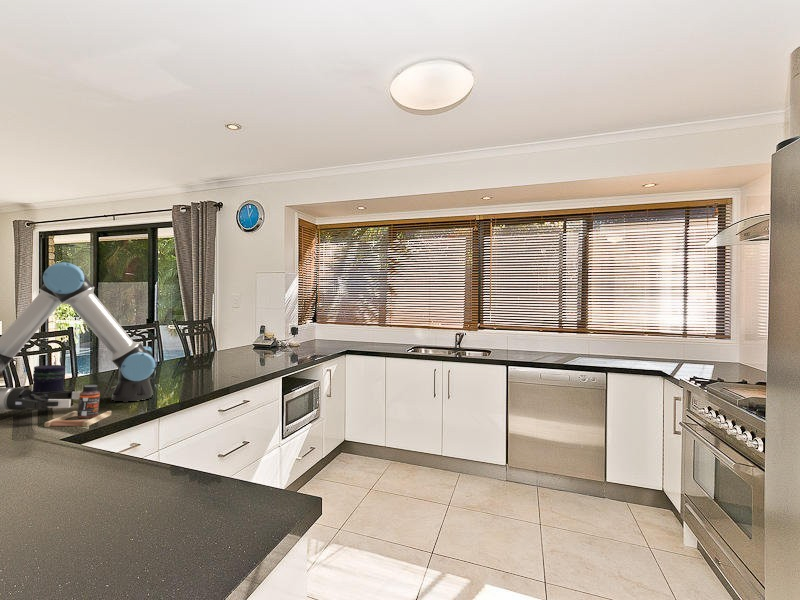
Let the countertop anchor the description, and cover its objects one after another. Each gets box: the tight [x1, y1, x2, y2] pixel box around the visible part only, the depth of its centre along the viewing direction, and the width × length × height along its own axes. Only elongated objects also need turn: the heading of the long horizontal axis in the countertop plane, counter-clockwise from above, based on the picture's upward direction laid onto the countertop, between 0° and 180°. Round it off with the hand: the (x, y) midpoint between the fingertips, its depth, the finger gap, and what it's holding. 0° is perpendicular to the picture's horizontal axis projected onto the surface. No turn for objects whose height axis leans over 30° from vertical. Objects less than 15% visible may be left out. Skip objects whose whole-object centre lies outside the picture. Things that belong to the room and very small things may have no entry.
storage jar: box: [31, 364, 66, 400], centre depth 161 cm, size 10×10×15 cm
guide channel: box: [43, 410, 112, 428], centre depth 140 cm, size 16×12×1 cm
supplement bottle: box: [77, 384, 101, 420], centre depth 145 cm, size 6×6×11 cm
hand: (81, 399), depth 144 cm, fingers open, 13 cm apart
